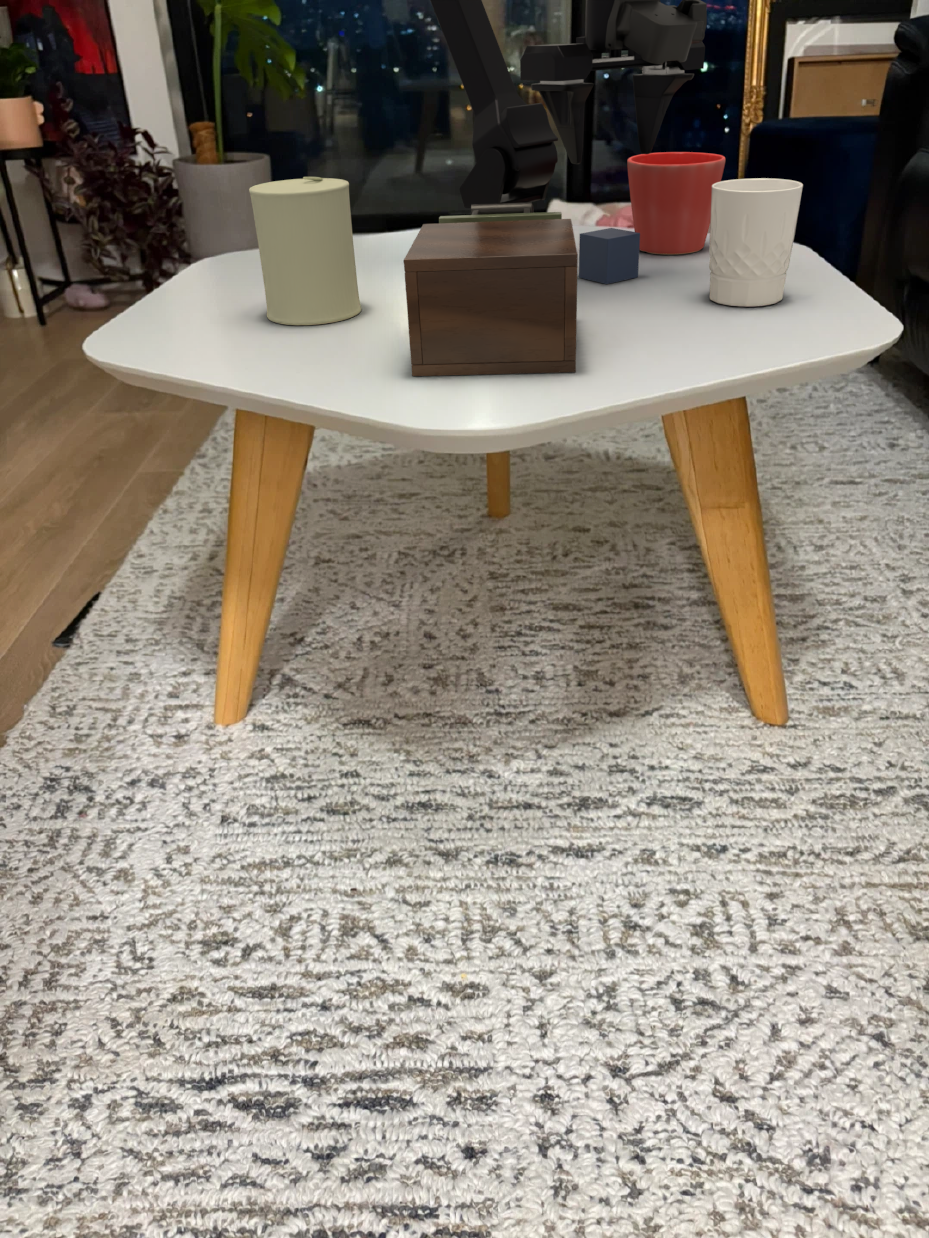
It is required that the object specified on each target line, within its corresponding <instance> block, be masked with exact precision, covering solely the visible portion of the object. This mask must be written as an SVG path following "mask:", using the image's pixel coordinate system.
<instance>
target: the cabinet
mask: <svg viewBox="0 0 929 1238" xmlns="http://www.w3.org/2000/svg"><path fill="white" fill-rule="evenodd" d="M576 243H577V242H576V237H575V232H574V227H573V222H572V218H562V219H549V220H522V221H494V222H467V223H439V222H438V223H423V224H422V226H421V228H420V229H419V231H418V233H417V235H416V236H415V238H414V240H413V242H412V244H411V246H410V248H409V250H408V252H407V253H406V255H405V257H404V258H403V270H404V282H405V296H406V299H405V300H406V311H407V324H408V326H407V327H408V337H409V339H408V340H409V351H410V352H409V353H410V364H411V365H410V367H411V376H412V377H436V376H437V377H438V376H439V377H440V376H473V375H476V376H477V375H478V376H479V375H514V374H515V375H517V374H555V373H557V374H559V373H576V372H577V328H578V327H577V325H578V322H577V321H578V316H577V315H578V311H577V310H578V263H579V253H578V249H577V244H576Z"/></svg>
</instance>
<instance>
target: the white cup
mask: <svg viewBox="0 0 929 1238" xmlns="http://www.w3.org/2000/svg"><path fill="white" fill-rule="evenodd" d="M803 188H804V184H803V183H802V182H801V181H797V180H792V179H784V178H772V177H771V178H769V177H767V178H766V177H761V178H758V177H757V178H756V177H755V178H738V179H737V178H736V179H728V180H721V182H717V183H714V184H713V185H712V192H711V219H710V226H709V247H708V248H709V249H708V254H709V262H708V263H709V264H708V268H709V271H710V273H709V275H710V276H709V277H710V278H709V300H711V301H712V302H713V303H716V304H719V305H724V306H730V307H746V308H747V307H764V306H770V305H773V304H774V305H775V304H778V303H779V302H780V301H782V300H783V297H784V290H785V286H786V278H787V271H788V269H789V267H790V262H791V257H792V252H793V251H792V250H793V246H794V241H795V235H796V230H797V223H798V217H799V212H800V205H801V201H802V193H803Z"/></svg>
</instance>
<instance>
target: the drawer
mask: <svg viewBox="0 0 929 1238" xmlns="http://www.w3.org/2000/svg"><path fill="white" fill-rule="evenodd" d="M532 202H533V201H532ZM532 202H526V203H499V204H473V205H471V209H470V214H466V215H465V214H464V215H440V216H439V217H438V224H439V223H467V222H494V221H522V220H549V219H563V218H562V217H563V215H562V214H563V213H562V211H545V212H533V213H532V205H533V203H532Z"/></svg>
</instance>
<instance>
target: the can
mask: <svg viewBox="0 0 929 1238" xmlns="http://www.w3.org/2000/svg"><path fill="white" fill-rule="evenodd" d="M248 192H249V196H250V202H251V206H252V213H253V219H254V225H255V232H256V233H255V234H256V239H257V246H258V252H259V258H260V266H261V272H262V279H263V286H264V295H265V304H266V318H267V319H268V320H269V321H271V322H273V323H276V324H278V325H279V324H280V325H287V326H317V325H325V324H332V323H337V322H340V321H345V320H348V319H351V318H353V317H355V316H358V315H359V314H360V313H361V312H362V304H361V300H360V293H359V286H358V277H357V266H356V256H355V245H354V236H353V235H354V234H353V224H352V212H351V199H350V183H349V181H348V180H345V179H342V178H341V179H340V178H329V177H320V176H303V177H302V178H293V179H284V180H283V179H282V180H275V181H269V182H263V183H258V184H256V185H253V186H250V187H249V189H248Z"/></svg>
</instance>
